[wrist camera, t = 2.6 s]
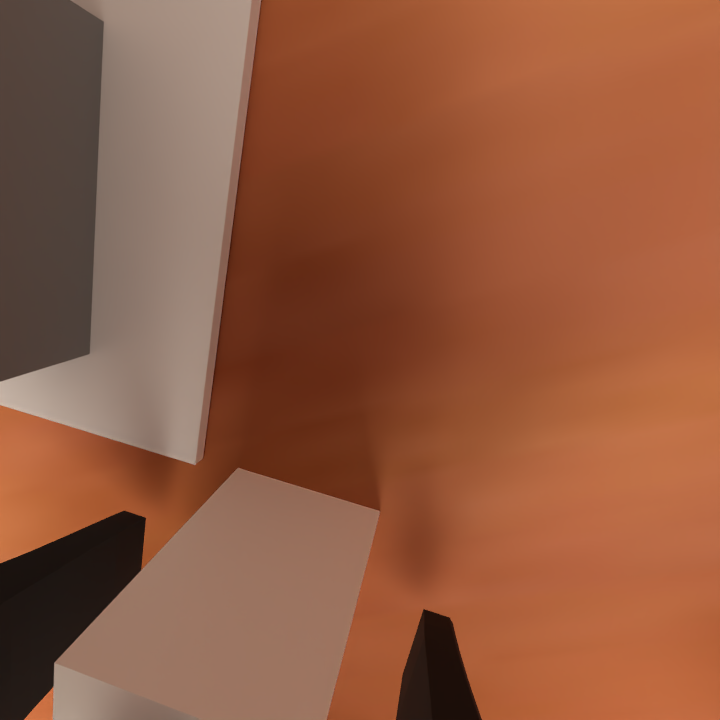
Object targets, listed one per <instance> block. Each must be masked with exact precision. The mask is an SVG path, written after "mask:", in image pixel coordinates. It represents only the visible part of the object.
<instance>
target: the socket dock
mask: <svg viewBox="0 0 720 720" xmlns="http://www.w3.org/2000/svg"><path fill="white" fill-rule="evenodd" d="M260 6H261V0H0V405H2V406H5V407H9V408H12V409H15V410H18V411H22V412H25V413H28V414H31V415H34V416H38V417H41V418H44V419H47V420H51V421H54V422H57V423H60V424H64V425H67V426H70V427H73V428H77V429H80V430H83V431H86V432H90V433H93V434H96V435H99V436H103V437H106V438H109V439H112V440H116V441H119V442H122V443H125V444H129V445H132V446H135V447H138V448H142V449H145V450H148V451H151V452H155V453H158V454H161V455H164V456H168V457H171V458H174V459H177V460H181V461H184V462H187V463H190V464H194V465H196V464H197V463H198V462H199V461H200V460H202V459H203V455H204V447H205V439H206V431H207V423H208V415H209V407H210V400H211V392H212V384H213V376H214V368H215V360H216V352H217V344H218V337H219V329H220V321H221V313H222V305H223V297H224V289H225V281H226V273H227V266H228V258H229V250H230V242H231V234H232V226H233V218H234V210H235V203H236V195H237V187H238V179H239V171H240V163H241V155H242V147H243V140H244V132H245V124H246V116H247V108H248V100H249V92H250V84H251V76H252V69H253V61H254V53H255V45H256V37H257V29H258V21H259V13H260Z"/></svg>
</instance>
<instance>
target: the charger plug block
mask: <svg viewBox="0 0 720 720" xmlns="http://www.w3.org/2000/svg"><path fill="white" fill-rule="evenodd" d="M379 515H380V511H378V510H375V509H372V508H368V507H365V506H362V505H359V504H355V503H352V502H349V501H346V500H342V499H339V498H336V497H332V496H329V495H326V494H323V493H319V492H316V491H313V490H309V489H306V488H303V487H300V486H296V485H293V484H290V483H287V482H283V481H280V480H277V479H273V478H270V477H267V476H264V475H260V474H257V473H254V472H250V471H247V470H244V469H241V468H237V469H236V470H235V471H234V472H233V473H232V474H231V475H230V477H229V478H228V479H227V480H226V481H225V482H224V483H223V484H222V485H221V486H220V487H219V488H218V489H217V490H216V491H215V492H214V494H213V495H212V496H211V497H210V498H209V499H208V500H207V501H206V502H205V503H204V504H203V505H202V506H201V507H200V508H199V509H198V511H197V512H196V513H195V514H194V515H193V516H192V517H191V518H190V519H189V520H188V521H187V522H186V523H185V524H184V525H183V527H182V528H181V529H180V530H179V531H178V532H177V533H176V534H175V535H174V536H173V537H172V538H171V539H170V540H169V541H168V542H167V544H166V545H165V546H164V547H163V548H162V549H161V550H160V551H159V552H158V553H157V554H156V555H155V556H154V557H153V558H152V559H151V561H150V562H149V563H148V564H147V565H146V566H145V567H144V568H143V569H142V570H141V571H140V572H139V573H138V574H137V575H136V576H135V578H134V579H133V580H132V581H131V582H130V583H129V584H128V585H127V586H126V587H125V588H124V589H123V590H122V591H121V592H120V593H119V595H118V596H117V597H116V598H115V599H114V600H113V601H112V602H111V603H110V604H109V605H108V606H107V607H106V608H105V609H104V610H103V612H102V613H101V614H100V615H99V616H98V617H97V618H96V619H95V620H94V621H93V622H92V623H91V624H90V625H89V626H88V628H87V629H86V630H85V631H84V632H83V633H82V634H81V635H80V636H79V637H78V638H77V639H76V640H75V641H74V642H73V643H72V645H71V646H70V647H69V648H68V649H67V650H66V651H65V652H64V653H63V654H62V655H61V656H60V657H59V658H58V659H57V660H56V662H55V663H54V696H53V720H327V716H328V712H329V709H330V705H331V701H332V697H333V693H334V689H335V685H336V681H337V678H338V674H339V670H340V666H341V662H342V658H343V654H344V650H345V647H346V643H347V639H348V635H349V631H350V627H351V623H352V619H353V615H354V612H355V608H356V604H357V600H358V596H359V592H360V588H361V584H362V581H363V577H364V573H365V569H366V565H367V561H368V557H369V553H370V550H371V546H372V542H373V538H374V534H375V530H376V526H377V522H378V519H379Z"/></svg>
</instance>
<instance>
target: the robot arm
mask: <svg viewBox="0 0 720 720" xmlns="http://www.w3.org/2000/svg"><path fill="white" fill-rule="evenodd" d="M145 521H146V518H145V517H142V516H139V515H136V514H133V513H130V512H127V511H123V512H120V513H118V514H115V515H113V516H110V517H108V518H106V519H104V520H101V521H99V522H97V523H94V524H92V525H90V526H88V527H85V528H83V529H81V530H79V531H76V532H74V533H72V534H70V535H67V536H65V537H63V538H61V539H58V540H56V541H54V542H51V543H49V544H47V545H44V546H42V547H40V548H38V549H35V550H33V551H31V552H28V553H26V554H23V555H21V556H18V557H16V558H13V559H11V560H8V561H6V562H3V563H0V720H24V719H25V718H26V717H27V715H28V714H29V713H30V712H31V711H32V710H33V708H34V707H35V706H36V705H37V704H38V703H39V702H40V701H41V700H42V699H43V697H44V696H45V695H46V694H47V693H48V692H49V691H50V690H51V689H52V688H53V686H54V663H55V662H56V660H57V659H58V658H59V657H60V656H61V655H62V654H63V653H64V652H65V651H66V650H67V649H68V648H69V647H70V646H71V645H72V643H73V642H74V641H75V640H76V639H77V638H78V637H79V636H80V635H81V634H82V633H83V632H84V631H85V630H86V629H87V628H88V626H89V625H90V624H91V623H92V622H93V621H94V620H95V619H96V618H97V617H98V616H99V615H100V614H101V613H102V612H103V610H104V609H105V608H106V607H107V606H108V605H109V604H110V603H111V602H112V601H113V600H114V599H115V598H116V597H117V596H118V595H119V593H120V592H121V591H122V590H123V589H124V588H125V587H126V586H127V585H128V584H129V583H130V582H131V581H132V580H133V579H134V578H135V576H136V575H137V574H138V573H139V572H140V571H141V566H142V554H143V543H144V532H145ZM396 720H482V719H481V716H480V713H479V710H478V707H477V705H476V702H475V699H474V696H473V693H472V690H471V687H470V684H469V681H468V678H467V674H466V671H465V668H464V664H463V661H462V658H461V654H460V651H459V647H458V643H457V639H456V635H455V631H454V627H453V623H452V621H451V620H450V618H449V617H446V616H443V615H440V614H437V613H434V612H431V611H428V610H423V613H422V616H421V619H420V622H419V625H418V629H417V632H416V635H415V638H414V641H413V644H412V647H411V650H410V654H409V657H408V660H407V663H406V666H405V669H404V672H403V677H402V683H401V690H400V697H399V703H398V710H397V717H396Z"/></svg>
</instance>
